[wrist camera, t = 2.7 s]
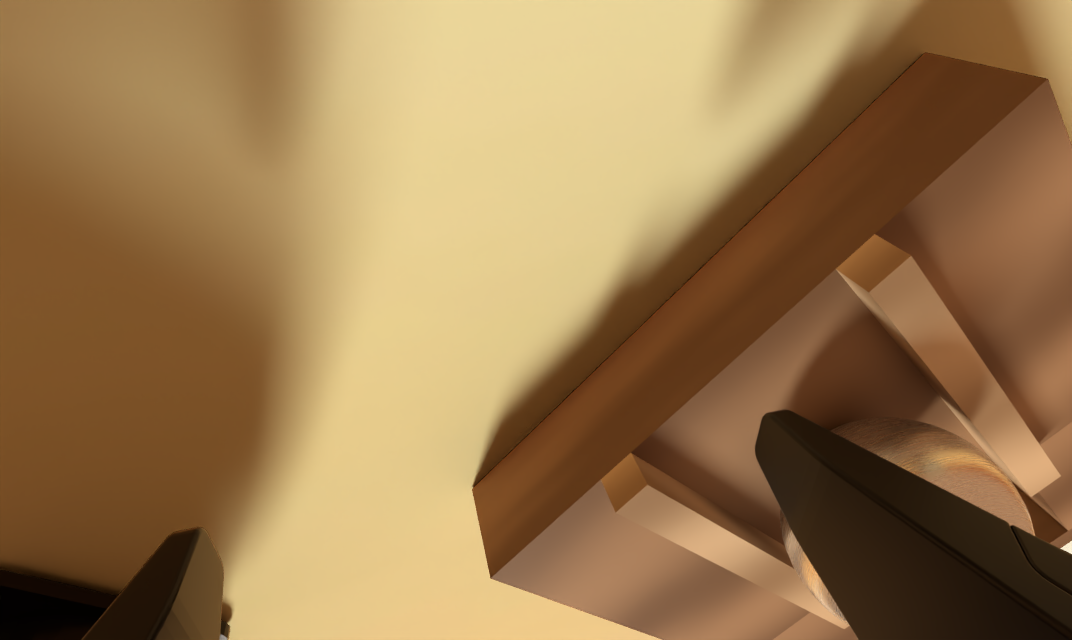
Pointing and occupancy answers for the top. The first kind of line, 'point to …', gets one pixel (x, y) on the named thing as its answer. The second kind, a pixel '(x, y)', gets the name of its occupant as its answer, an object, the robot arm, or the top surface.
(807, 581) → the steel ball
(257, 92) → the top surface
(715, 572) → the hole deck
